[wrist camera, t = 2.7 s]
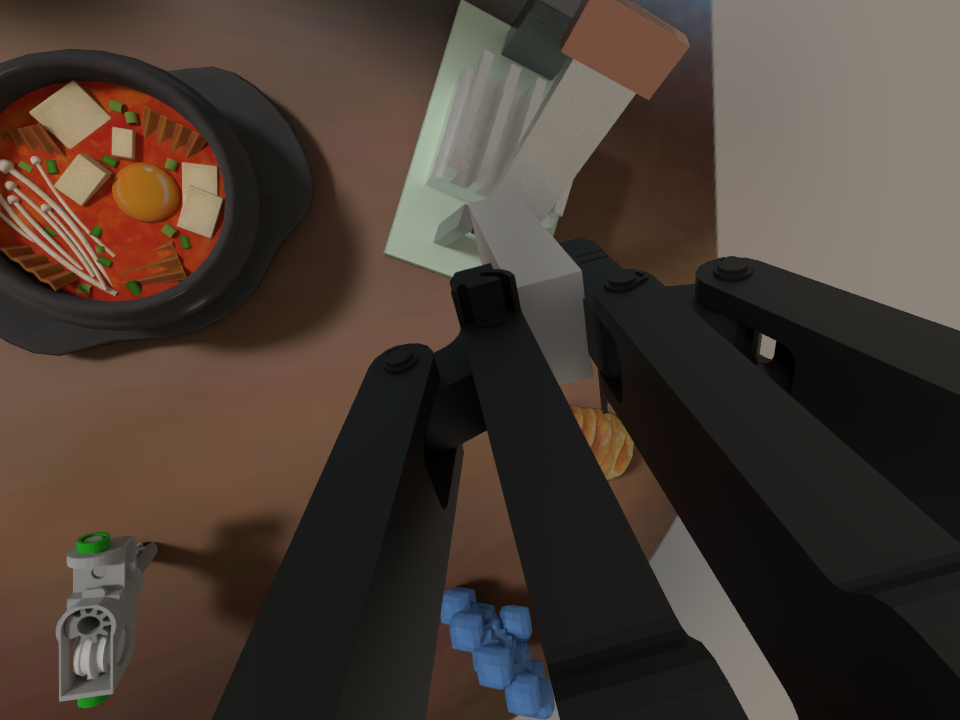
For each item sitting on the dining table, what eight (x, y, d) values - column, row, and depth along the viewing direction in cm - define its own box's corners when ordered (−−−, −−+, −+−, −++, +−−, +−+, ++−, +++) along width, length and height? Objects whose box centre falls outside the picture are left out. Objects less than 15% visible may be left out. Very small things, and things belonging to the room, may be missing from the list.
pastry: (525, 450, 47) (542, 461, 44) (552, 387, 48) (571, 392, 44) (601, 481, 50) (622, 493, 47) (626, 421, 51) (649, 429, 47)
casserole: (75, 411, 36) (4, 439, 28) (-132, 184, 31) (-288, 140, 23) (361, 236, 41) (369, 218, 33) (217, 18, 36) (186, -64, 28)
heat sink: (525, 276, 44) (567, 268, 36) (409, 233, 41) (429, 214, 33) (585, 74, 44) (642, 23, 36) (475, 14, 41) (511, -57, 33)
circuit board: (527, 305, 46) (532, 304, 45) (383, 254, 41) (384, 252, 40) (594, 81, 46) (601, 75, 45) (457, 7, 41) (461, -1, 40)
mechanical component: (168, 486, 38) (115, 543, 29) (167, 610, 39) (115, 706, 29) (124, 487, 37) (54, 547, 28) (123, 614, 38) (55, 715, 29)
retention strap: (527, 247, 38) (527, 259, 37) (461, 221, 36) (459, 232, 35) (685, 35, 25) (689, 46, 24) (594, -22, 23) (595, -12, 22)
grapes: (542, 606, 49) (606, 694, 38) (496, 659, 48) (549, 766, 37) (465, 538, 46) (510, 612, 35) (415, 594, 45) (444, 688, 34)
